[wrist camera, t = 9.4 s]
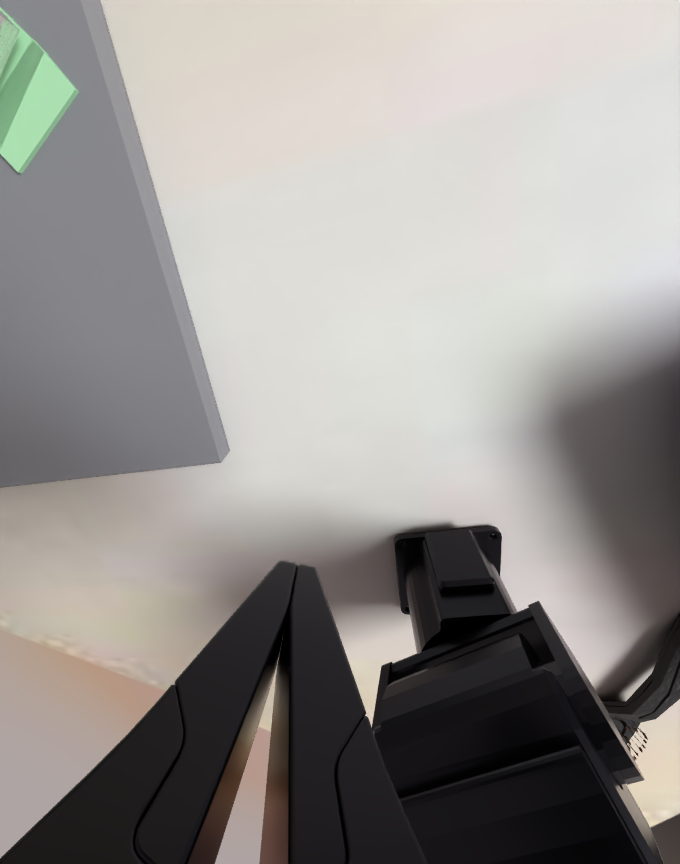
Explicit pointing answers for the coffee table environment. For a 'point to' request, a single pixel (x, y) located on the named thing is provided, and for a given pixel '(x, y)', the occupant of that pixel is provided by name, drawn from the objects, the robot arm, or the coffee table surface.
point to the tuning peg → (6, 39)
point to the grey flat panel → (87, 271)
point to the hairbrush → (651, 691)
